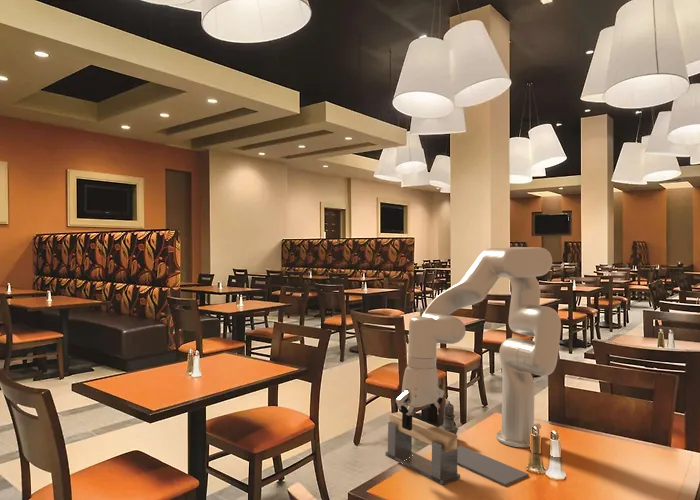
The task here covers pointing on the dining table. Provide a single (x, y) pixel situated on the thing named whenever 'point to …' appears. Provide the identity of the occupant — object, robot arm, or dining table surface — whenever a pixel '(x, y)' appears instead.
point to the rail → (426, 432)
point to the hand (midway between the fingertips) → (419, 425)
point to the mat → (488, 467)
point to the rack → (437, 469)
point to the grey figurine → (449, 419)
